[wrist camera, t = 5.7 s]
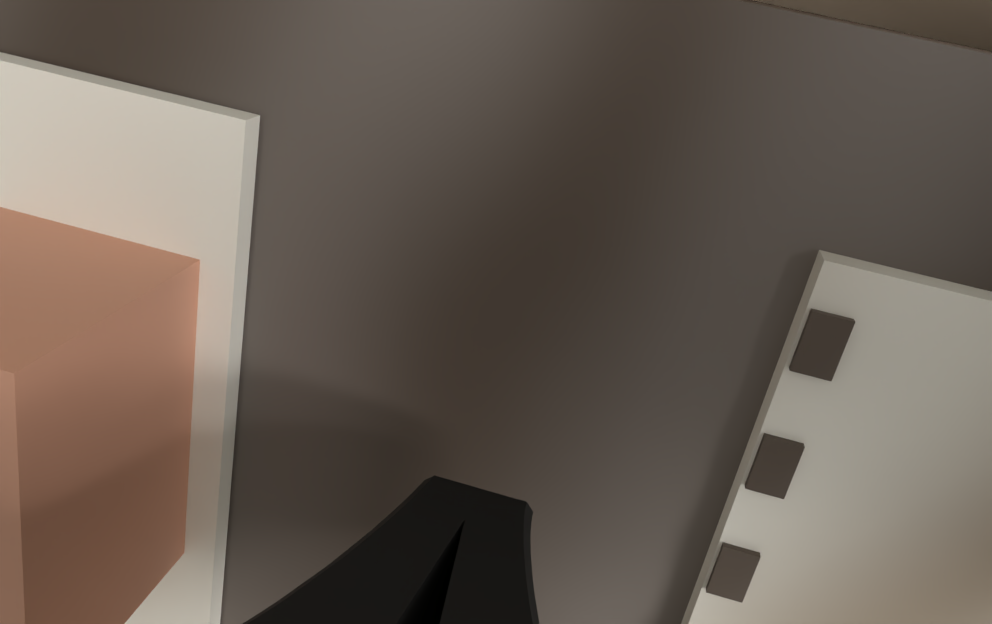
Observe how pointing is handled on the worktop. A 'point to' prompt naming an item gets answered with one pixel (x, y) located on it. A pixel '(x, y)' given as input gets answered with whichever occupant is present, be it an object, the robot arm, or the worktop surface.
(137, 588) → the stub
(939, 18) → the worktop surface
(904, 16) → the worktop surface
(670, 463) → the ticket board
